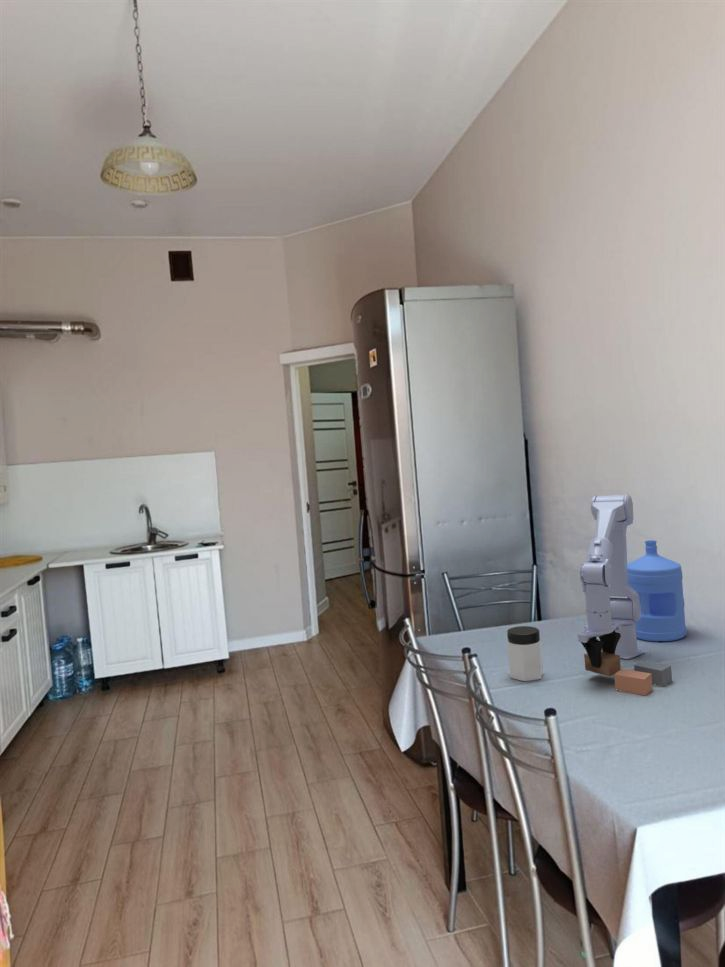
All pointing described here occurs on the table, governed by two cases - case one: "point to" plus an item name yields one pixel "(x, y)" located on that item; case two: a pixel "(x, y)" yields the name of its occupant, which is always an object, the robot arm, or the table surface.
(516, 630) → the jar
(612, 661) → the walnut block
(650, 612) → the water jug
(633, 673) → the terracotta block
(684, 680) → the table surface
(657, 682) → the grey block
